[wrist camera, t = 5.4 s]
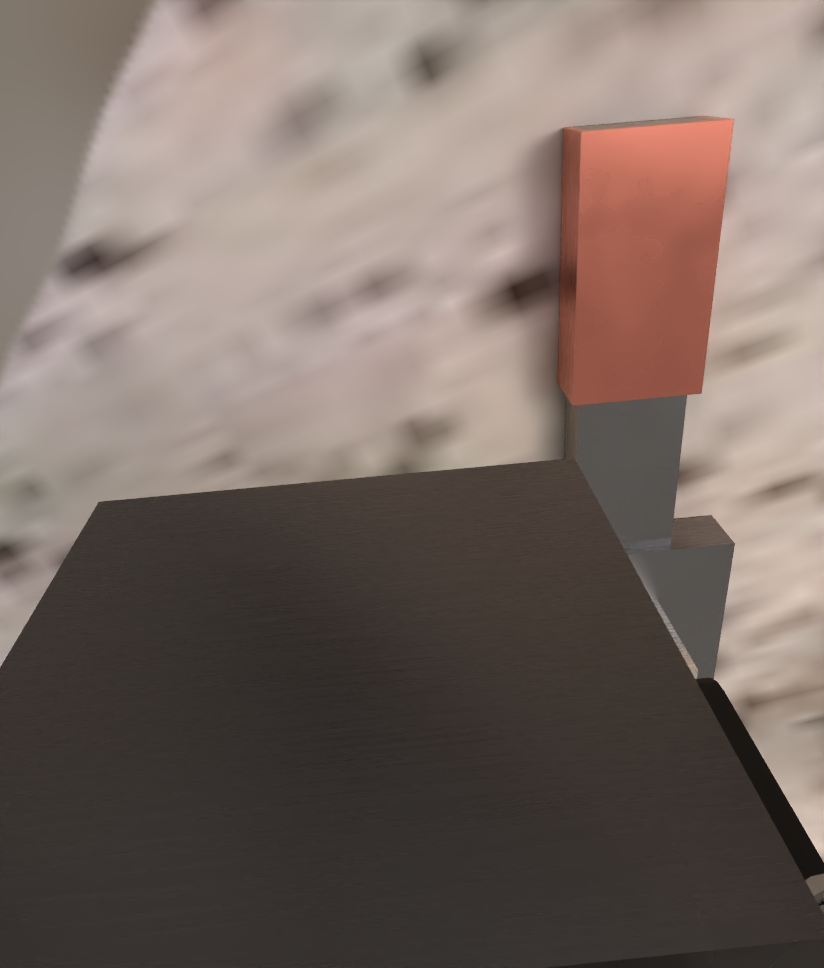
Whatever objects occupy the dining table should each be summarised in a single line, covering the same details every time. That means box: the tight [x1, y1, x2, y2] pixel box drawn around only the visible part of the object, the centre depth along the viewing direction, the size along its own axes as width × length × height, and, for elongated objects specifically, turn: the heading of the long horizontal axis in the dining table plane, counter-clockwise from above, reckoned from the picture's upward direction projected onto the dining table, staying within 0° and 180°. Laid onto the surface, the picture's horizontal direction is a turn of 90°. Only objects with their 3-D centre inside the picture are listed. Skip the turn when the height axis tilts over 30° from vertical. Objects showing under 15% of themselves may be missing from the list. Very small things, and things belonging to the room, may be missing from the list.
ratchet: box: [558, 116, 735, 679], centre depth 25 cm, size 22×8×6 cm, turn 4°
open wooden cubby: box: [0, 458, 824, 968], centre depth 8 cm, size 6×6×6 cm
